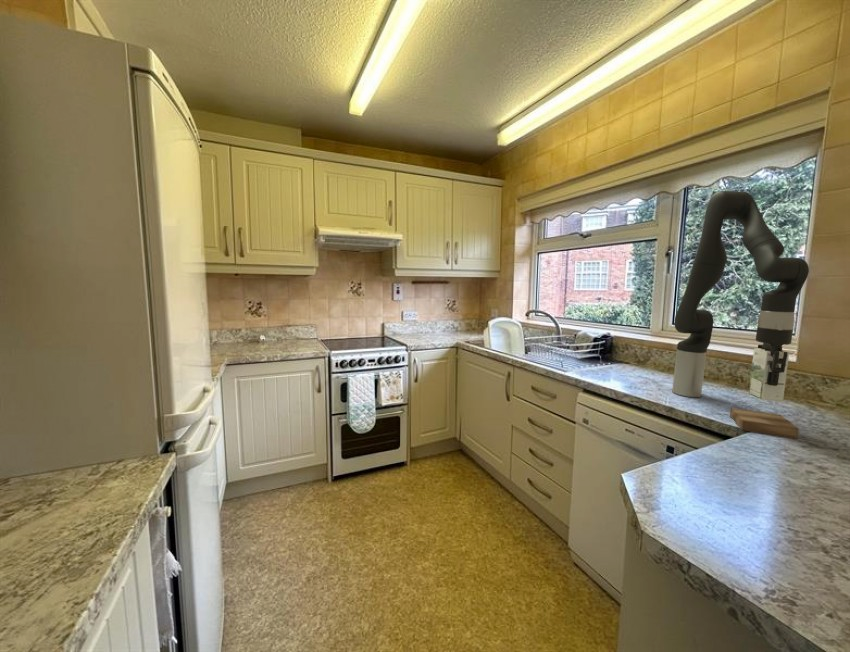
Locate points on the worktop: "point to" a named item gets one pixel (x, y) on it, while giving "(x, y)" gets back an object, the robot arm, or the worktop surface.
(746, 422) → the walnut plinth
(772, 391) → the syrup box
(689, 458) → the worktop surface
